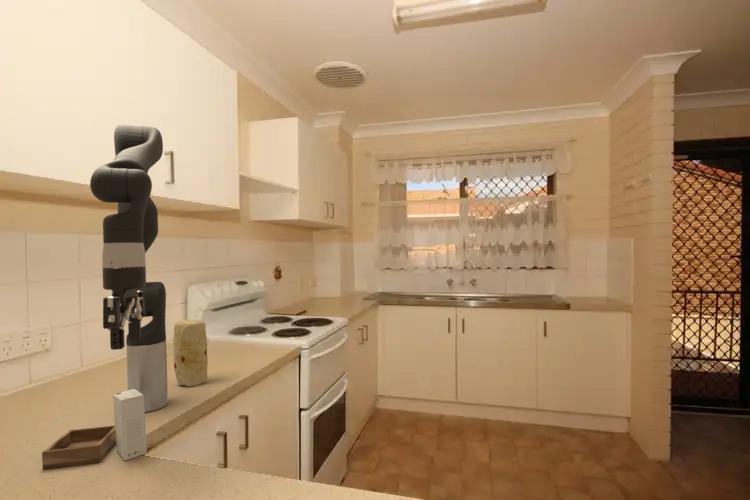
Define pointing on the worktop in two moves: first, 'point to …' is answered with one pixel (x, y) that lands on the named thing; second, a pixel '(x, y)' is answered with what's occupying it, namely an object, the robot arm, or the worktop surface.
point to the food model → (190, 352)
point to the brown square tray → (79, 447)
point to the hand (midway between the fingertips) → (126, 344)
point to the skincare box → (130, 424)
